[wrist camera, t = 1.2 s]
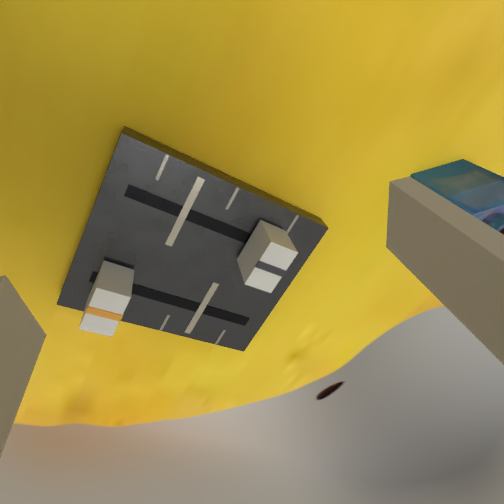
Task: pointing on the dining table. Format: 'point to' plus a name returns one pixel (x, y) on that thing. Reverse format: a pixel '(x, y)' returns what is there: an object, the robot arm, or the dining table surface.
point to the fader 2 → (266, 257)
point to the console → (183, 243)
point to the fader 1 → (107, 299)
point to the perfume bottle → (468, 190)
